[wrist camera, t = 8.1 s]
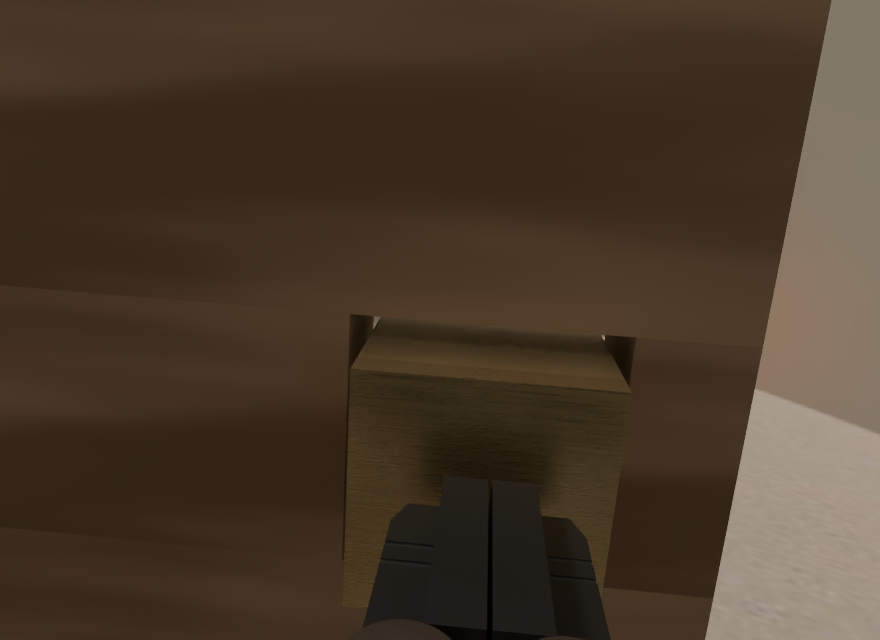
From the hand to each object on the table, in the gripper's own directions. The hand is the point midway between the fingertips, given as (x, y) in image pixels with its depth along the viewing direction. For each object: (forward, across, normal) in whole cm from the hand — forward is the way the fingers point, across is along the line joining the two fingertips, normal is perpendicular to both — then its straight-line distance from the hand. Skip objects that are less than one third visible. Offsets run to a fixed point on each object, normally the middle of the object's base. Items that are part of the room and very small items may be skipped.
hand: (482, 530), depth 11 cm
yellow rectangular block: (+5, 0, +2) cm, 5 cm away
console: (+6, +8, +10) cm, 14 cm away
